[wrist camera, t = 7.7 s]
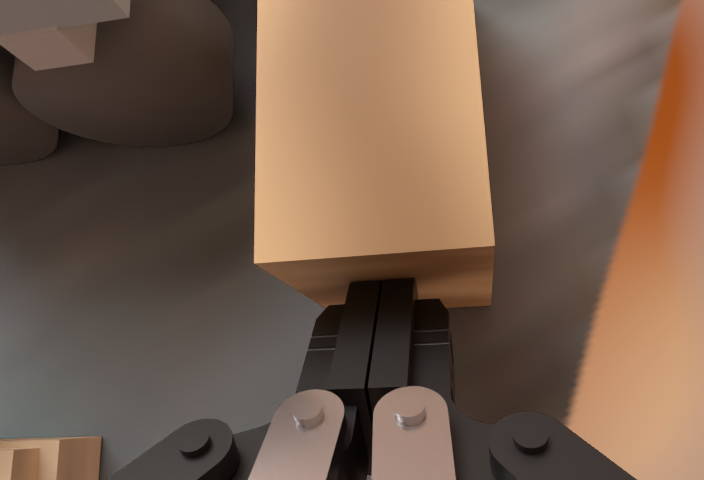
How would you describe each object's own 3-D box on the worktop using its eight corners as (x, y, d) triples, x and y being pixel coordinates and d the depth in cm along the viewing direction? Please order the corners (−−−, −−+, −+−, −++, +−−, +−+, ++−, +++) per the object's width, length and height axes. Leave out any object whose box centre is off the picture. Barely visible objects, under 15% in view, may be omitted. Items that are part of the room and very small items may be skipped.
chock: (335, 314, 19) (253, 263, 12) (329, 18, 21) (259, -158, 15) (491, 305, 18) (495, 245, 11) (464, -1, 20) (455, -197, 14)
